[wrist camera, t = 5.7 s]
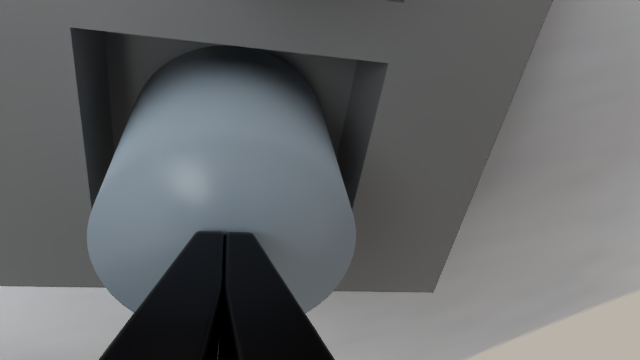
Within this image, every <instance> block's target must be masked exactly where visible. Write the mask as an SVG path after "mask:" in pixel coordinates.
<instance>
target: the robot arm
mask: <svg viewBox="0 0 640 360" xmlns="http://www.w3.org/2000/svg"><path fill="white" fill-rule="evenodd" d="M99 360H335V359H334V358H333V356H332V355H331V353H330V352H329V350H328V349H327V347H326V345H325V344H324V342H323V341H322V339H321V338H320V336H319V335H318V333H317V331H316V330H315V328H314V327H313V325H312V324H311V322H310V321H309V319H308V318H307V316H306V314H305V313H304V311H303V310H302V308H301V307H300V305H299V304H298V302H297V300H296V299H295V297H294V296H293V294H292V293H291V291H290V290H289V288H288V287H287V285H286V283H285V282H284V280H283V279H282V277H281V276H280V274H279V273H278V271H277V269H276V268H275V266H274V265H273V263H272V262H271V260H270V259H269V257H268V256H267V254H266V252H265V251H264V249H263V248H262V246H261V245H260V243H259V242H258V240H257V238H256V237H255V236H254V234H252V233H249V232H228V233H226V235H225V236H224V233H223V232H221V231H197V232H196V233H195V234H194V235H193V236H192V238H191V239H190V240H189V242H188V243H187V244H186V245H185V247H184V248H183V249H182V251H181V252H180V253H179V255H178V256H177V257H176V259H175V260H174V261H173V263H172V264H171V265H170V267H169V268H168V269H167V270H166V272H165V273H164V274H163V276H162V277H161V278H160V280H159V281H158V282H157V284H156V285H155V286H154V288H153V289H152V290H151V291H150V293H149V294H148V295H147V297H146V298H145V299H144V301H143V302H142V303H141V305H140V306H139V307H138V309H137V310H136V311H135V313H134V314H133V315H132V316H131V318H130V319H129V320H128V322H127V323H126V324H125V326H124V327H123V328H122V330H121V331H120V332H119V334H118V335H117V336H116V338H115V339H114V340H113V341H112V343H111V344H110V345H109V347H108V348H107V349H106V351H105V352H104V353H103V355H102V356H101V357H100V359H99Z"/></svg>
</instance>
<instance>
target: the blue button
mask: <svg viewBox="0 0 640 360" xmlns="http://www.w3.org/2000/svg"><path fill="white" fill-rule="evenodd" d="M197 231H221V232H223V233H224V236H225V235H226V233H228V232H249V233H252V234H254V236H255V237H256V238H257V240H258V242H259V243H260V245H261V246H262V248H263V249H264V251H265V252H266V254H267V256H268V257H269V259H270V260H271V262H272V263H273V265H274V266H275V268H276V269H277V271H278V273H279V274H280V276H281V277H282V279H283V280H284V282H285V283H286V285H287V287H288V288H289V290H290V291H291V293H292V294H293V296H294V297H295V299H296V300H297V302H298V304H299V305H300V307H301V308H302V310H303V311H304V313H307V312H308V311H310V310H311V309H313V308H314V307H316V306H317V305H318V304H320V303H321V302H322V301H323V300H324V299H325V298H327V297H328V296H329V295H330V294H331V292H332V291H333V290H334V289H335V288H336V287H337V286H338V284H339V283H340V281H341V280H342V279H343V277H344V275H345V274H346V272H347V270H348V268H349V266H350V263H351V260H352V257H353V255H354V249H355V244H356V227H355V221H354V216H353V212H352V209H351V206H350V202H349V199H348V196H347V192H346V189H345V186H344V182H343V179H342V176H341V172H340V169H339V166H338V162H337V159H336V156H335V153H334V149H333V146H332V143H331V139H330V136H329V133H328V129H327V126H326V123H325V119H324V116H323V113H322V110H321V107H320V104H319V101H318V99H317V97H316V96H315V94H314V92H313V90H312V89H311V87H310V86H309V85H308V83H307V82H306V81H305V80H304V79H303V78H302V77H301V75H300V74H299V73H298V72H296V71H295V70H294V69H293V68H291V67H290V66H289V65H288V64H286V63H284V62H283V61H281V60H279V59H278V58H276V57H274V56H271V55H269V54H267V53H265V52H262V51H258V50H255V49H252V48H246V47H240V46H228V45H221V46H209V47H205V48H200V49H195V50H193V51H190V52H187V53H184V54H182V55H180V56H178V57H176V58H174V59H172V60H170V61H169V62H168V63H166V64H165V65H163V66H162V67H161V68H160V69H158V70H157V71H156V72H155V73H154V74H153V75H152V76H151V77H150V79H149V80H148V81H147V83H146V84H145V85H144V87H143V88H142V90H141V92H140V94H139V96H138V98H137V100H136V103H135V105H134V108H133V110H132V113H131V115H130V117H129V120H128V122H127V125H126V127H125V130H124V132H123V134H122V137H121V139H120V142H119V144H118V147H117V149H116V151H115V154H114V156H113V159H112V161H111V164H110V166H109V169H108V171H107V173H106V176H105V178H104V181H103V183H102V186H101V188H100V190H99V193H98V195H97V198H96V200H95V203H94V205H93V208H92V211H91V214H90V217H89V221H88V227H87V247H88V252H89V256H90V260H91V263H92V265H93V267H94V270H95V272H96V274H97V275H98V277H99V279H100V280H101V282H102V284H103V285H104V286H105V287H106V288H107V290H108V291H109V292H110V293H111V294H112V295H113V296H114V297H115V298H116V299H117V300H118V301H119V302H120V303H122V304H123V305H124V306H126V307H127V308H128V309H130V310H131V311H133V312H134V313H135V311H136V310H137V309H138V307H139V306H140V305H141V303H142V302H143V301H144V299H145V298H146V297H147V295H148V294H149V293H150V291H151V290H152V289H153V288H154V286H155V285H156V284H157V282H158V281H159V280H160V278H161V277H162V276H163V274H164V273H165V272H166V270H167V269H168V268H169V267H170V265H171V264H172V263H173V261H174V260H175V259H176V257H177V256H178V255H179V253H180V252H181V251H182V249H183V248H184V247H185V245H186V244H187V243H188V242H189V240H190V239H191V238H192V236H193V235H194V234H195V233H196V232H197Z"/></svg>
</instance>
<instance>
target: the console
mask: <svg viewBox="0 0 640 360" xmlns="http://www.w3.org/2000/svg"><path fill="white" fill-rule="evenodd" d="M552 1H553V0H0V286H36V287H103V288H106V287H105V286H104V285H103V284H102V282H101V280H100V279H99V277H98V275H97V274H96V272H95V270H94V267H93V265H92V263H91V260H90V256H89V252H88V247H87V227H88V221H89V217H90V214H91V211H92V208H93V205H94V203H95V200H96V198H97V195H98V193H99V190H100V188H101V186H102V183H103V181H104V178H105V176H106V173H107V171H108V169H109V166H110V164H111V161H112V159H113V156H114V154H115V151H116V149H117V147H118V144H119V142H120V139H121V137H122V134H123V132H124V130H125V127H126V125H127V122H128V120H129V117H130V115H131V113H132V110H133V108H134V105H135V103H136V100H137V98H138V96H139V94H140V92H141V90H142V88H143V87H144V85H145V84H146V83H147V81H148V80H149V79H150V77H151V76H152V75H153V74H154V73H155V72H156V71H157V70H158V69H160V68H161V67H162V66H163V65H165V64H166V63H168V62H169V61H170V60H172V59H174V58H176V57H178V56H180V55H182V54H184V53H187V52H190V51H193V50H195V49H200V48H205V47H209V46H221V45H228V46H240V47H246V48H252V49H255V50H258V51H262V52H265V53H267V54H269V55H271V56H274V57H276V58H278V59H279V60H281V61H283V62H284V63H286V64H288V65H289V66H290V67H291V68H293V69H294V70H295V71H296V72H298V73H299V74H300V75H301V77H302V78H303V79H304V80H305V81H306V82H307V83H308V85H309V86H310V87H311V89H312V90H313V92H314V94H315V96H316V97H317V99H318V101H319V104H320V107H321V110H322V113H323V116H324V119H325V123H326V126H327V129H328V133H329V136H330V139H331V143H332V146H333V149H334V153H335V156H336V159H337V162H338V166H339V169H340V172H341V176H342V179H343V182H344V186H345V189H346V192H347V196H348V199H349V202H350V206H351V209H352V212H353V216H354V221H355V227H356V244H355V249H354V255H353V257H352V260H351V263H350V266H349V268H348V270H347V272H346V274H345V275H344V277H343V279H342V280H341V281H340V283H339V284H338V286H337V287H336V288H335V289H334V290H333V291H371V292H434V290H435V287H436V285H437V282H438V280H439V277H440V275H441V272H442V270H443V268H444V265H445V263H446V260H447V258H448V255H449V253H450V250H451V248H452V245H453V243H454V241H455V238H456V236H457V233H458V231H459V228H460V226H461V223H462V221H463V219H464V216H465V214H466V211H467V209H468V206H469V204H470V201H471V199H472V197H473V194H474V192H475V189H476V187H477V184H478V182H479V179H480V177H481V175H482V172H483V170H484V167H485V165H486V162H487V160H488V157H489V155H490V153H491V150H492V148H493V145H494V143H495V140H496V138H497V135H498V133H499V130H500V128H501V126H502V123H503V121H504V118H505V116H506V113H507V111H508V108H509V106H510V104H511V101H512V99H513V96H514V94H515V91H516V89H517V86H518V84H519V82H520V79H521V77H522V74H523V72H524V69H525V67H526V64H527V62H528V60H529V57H530V55H531V52H532V50H533V47H534V45H535V42H536V40H537V38H538V35H539V33H540V30H541V28H542V25H543V23H544V20H545V18H546V15H547V13H548V11H549V8H550V6H551V3H552Z"/></svg>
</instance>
